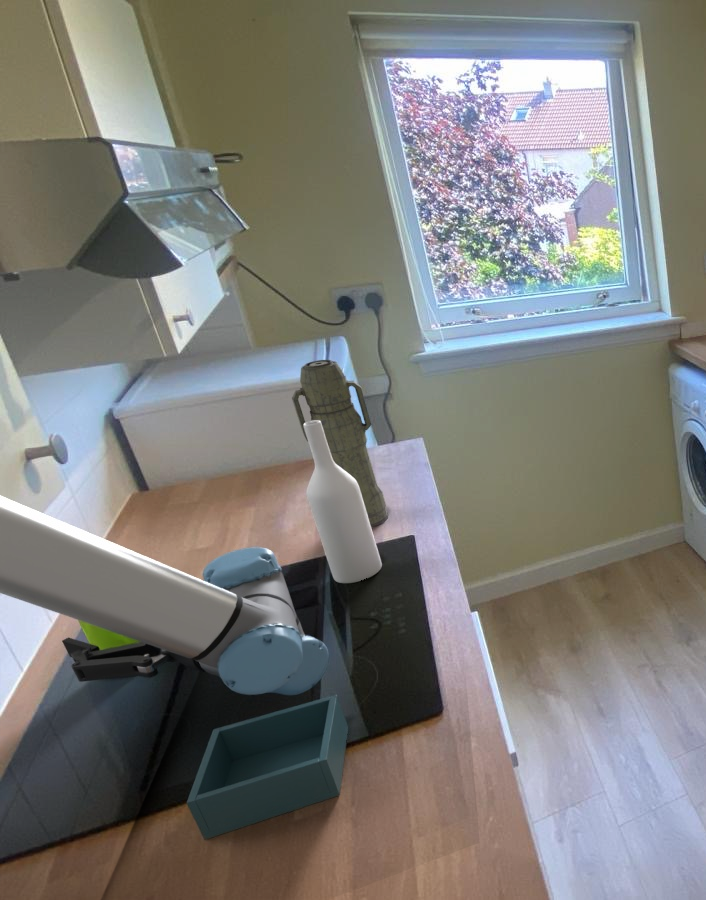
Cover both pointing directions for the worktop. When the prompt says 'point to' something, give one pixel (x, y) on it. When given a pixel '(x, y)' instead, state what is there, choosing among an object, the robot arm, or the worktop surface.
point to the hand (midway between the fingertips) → (125, 618)
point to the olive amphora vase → (342, 428)
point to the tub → (269, 766)
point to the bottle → (339, 514)
